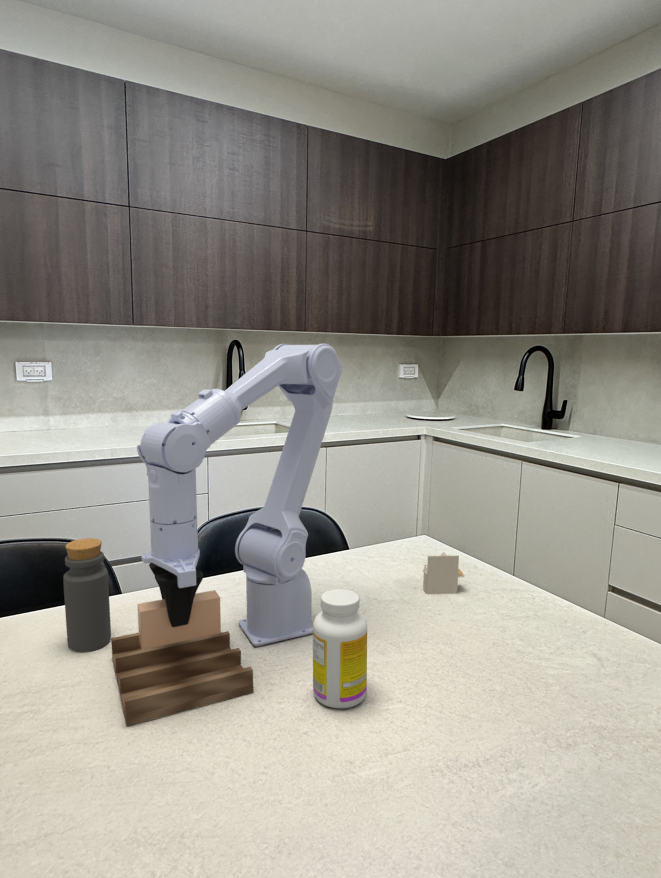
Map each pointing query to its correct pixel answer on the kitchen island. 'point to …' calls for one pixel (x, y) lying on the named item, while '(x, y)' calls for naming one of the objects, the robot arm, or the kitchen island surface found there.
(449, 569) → the architectural model
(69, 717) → the kitchen island surface
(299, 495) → the robot arm
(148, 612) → the peach rectangular block
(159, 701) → the rack
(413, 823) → the kitchen island surface
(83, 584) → the bottle
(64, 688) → the kitchen island surface
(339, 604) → the supplement bottle
